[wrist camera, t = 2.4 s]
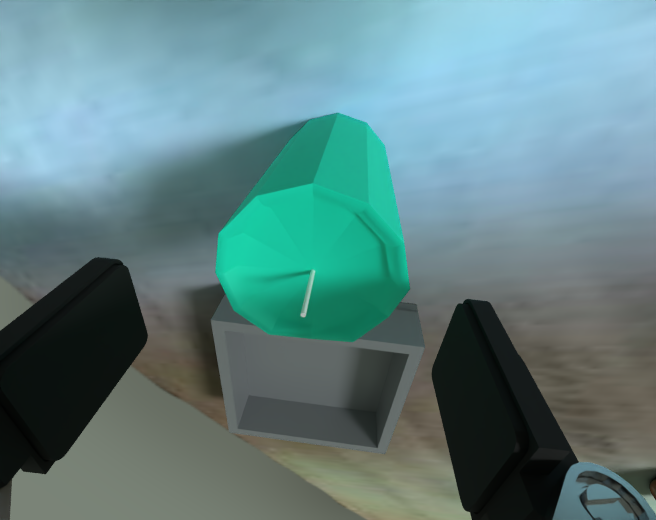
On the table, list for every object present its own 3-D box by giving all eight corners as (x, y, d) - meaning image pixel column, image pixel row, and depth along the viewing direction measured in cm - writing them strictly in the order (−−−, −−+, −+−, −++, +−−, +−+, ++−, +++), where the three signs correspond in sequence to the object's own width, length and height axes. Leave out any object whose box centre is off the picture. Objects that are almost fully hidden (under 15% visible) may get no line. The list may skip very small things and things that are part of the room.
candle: (266, 183, 19) (164, 330, 10) (317, 88, 16) (246, 158, 6) (349, 233, 21) (336, 407, 11) (411, 154, 18) (471, 296, 8)
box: (231, 281, 24) (210, 319, 21) (416, 304, 24) (424, 347, 20) (243, 391, 32) (229, 432, 28) (383, 410, 31) (385, 454, 28)
